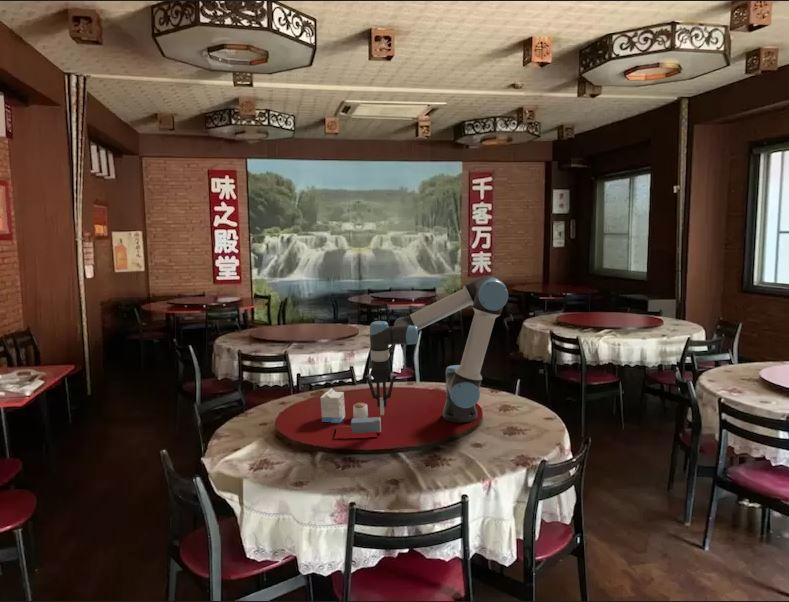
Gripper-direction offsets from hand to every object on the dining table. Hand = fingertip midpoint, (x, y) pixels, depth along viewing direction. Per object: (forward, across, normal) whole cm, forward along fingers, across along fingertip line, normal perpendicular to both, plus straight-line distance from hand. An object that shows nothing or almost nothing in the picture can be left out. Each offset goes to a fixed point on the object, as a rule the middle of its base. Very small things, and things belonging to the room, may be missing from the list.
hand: (382, 413), depth 246 cm
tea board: (+8, +11, 0) cm, 14 cm away
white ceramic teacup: (+8, +10, -17) cm, 21 cm away
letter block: (+5, +1, 0) cm, 5 cm away
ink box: (+8, +22, -16) cm, 29 cm away
